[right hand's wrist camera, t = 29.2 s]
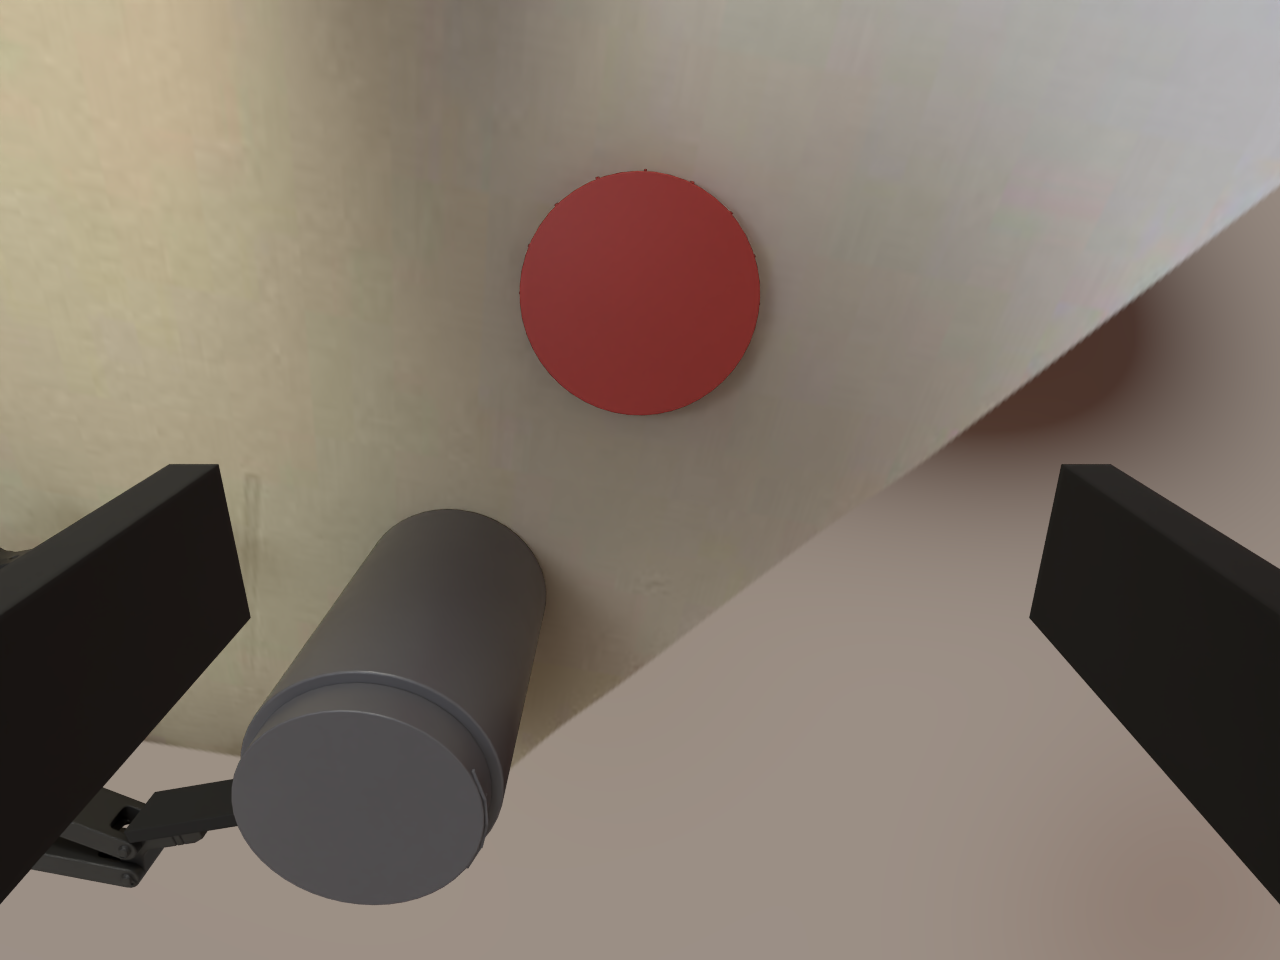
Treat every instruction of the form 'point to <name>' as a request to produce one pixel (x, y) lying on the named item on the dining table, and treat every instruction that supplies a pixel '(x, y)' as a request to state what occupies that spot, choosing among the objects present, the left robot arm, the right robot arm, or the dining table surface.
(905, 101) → the dining table surface
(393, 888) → the jar
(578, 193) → the lid
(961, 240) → the dining table surface
